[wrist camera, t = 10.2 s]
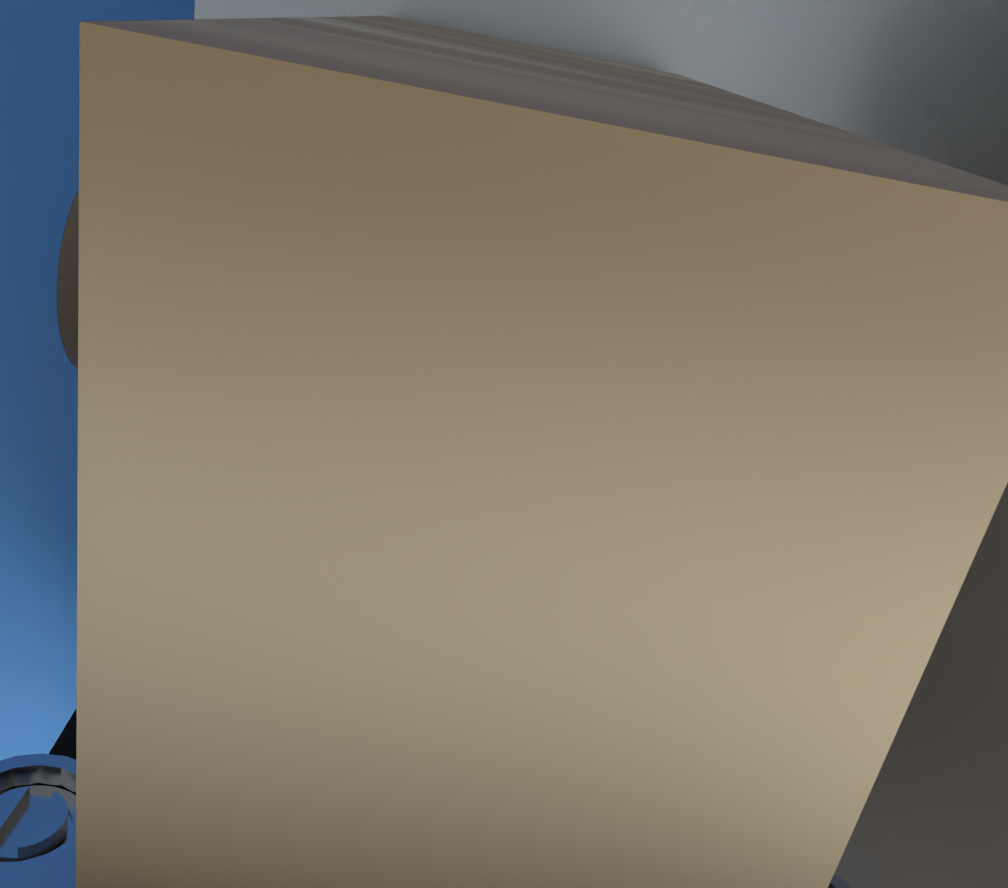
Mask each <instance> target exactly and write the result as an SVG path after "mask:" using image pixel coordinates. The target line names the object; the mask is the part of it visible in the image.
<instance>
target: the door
mask: <svg viewBox="0 0 1008 888" xmlns="http://www.w3.org/2000/svg"><path fill="white" fill-rule="evenodd" d="M57 314H58V324H59V330H60V335H61V339H62V343H63V347H64V349H65V352H66V355H67V356H68V358H69V360H70V362H71V363H72V364H73V365H74V367H76V368H77V369H78V499H77V728H76V888H828V886H829V884H830V882H831V879H832V877H833V875H834V873H835V870H836V868H837V866H838V864H839V861H840V859H841V857H842V855H843V852H844V850H845V848H846V846H847V843H848V841H849V839H850V837H851V834H852V832H853V830H854V828H855V825H856V823H857V821H858V819H859V816H860V814H861V812H862V810H863V807H864V805H865V803H866V801H867V798H868V796H869V794H870V792H871V789H872V787H873V785H874V783H875V780H876V778H877V776H878V773H879V771H880V769H881V767H882V764H883V762H884V760H885V758H886V755H887V753H888V751H889V749H890V746H891V744H892V742H893V740H894V737H895V735H896V733H897V731H898V728H899V726H900V724H901V722H902V719H903V717H904V715H905V713H906V710H907V708H908V706H909V704H910V701H911V699H912V697H913V695H914V692H915V690H916V688H917V686H918V683H919V681H920V679H921V677H922V674H923V672H924V670H925V667H926V665H927V663H928V661H929V658H930V656H931V654H932V652H933V649H934V647H935V645H936V643H937V640H938V638H939V636H940V634H941V631H942V629H943V627H944V625H945V622H946V620H947V618H948V616H949V613H950V611H951V609H952V607H953V604H954V602H955V600H956V598H957V595H958V593H959V591H960V589H961V586H962V584H963V582H964V580H965V577H966V575H967V573H968V571H969V568H970V566H971V564H972V561H973V559H974V557H975V555H976V552H977V550H978V548H979V546H980V543H981V541H982V539H983V537H984V534H985V532H986V530H987V528H988V525H989V523H990V521H991V519H992V516H993V514H994V512H995V510H996V507H997V505H998V503H999V501H1000V498H1001V496H1002V494H1003V492H1004V489H1005V487H1006V485H1007V483H1008V186H1007V185H1004V184H1001V183H998V182H995V181H992V180H990V179H987V178H984V177H981V176H978V175H975V174H972V173H969V172H966V171H963V170H960V169H957V168H954V167H951V166H948V165H945V164H942V163H939V162H936V161H933V160H930V159H927V158H924V157H921V156H919V155H916V154H913V153H910V152H907V151H904V150H901V149H898V148H895V147H892V146H889V145H886V144H883V143H880V142H877V141H874V140H871V139H868V138H865V137H862V136H859V135H856V134H853V133H850V132H847V131H845V130H842V129H839V128H836V127H833V126H830V125H827V124H824V123H821V122H818V121H815V120H812V119H809V118H806V117H803V116H800V115H797V114H794V113H791V112H788V111H785V110H782V109H779V108H776V107H774V106H771V105H768V104H765V103H762V102H759V101H756V100H753V99H750V98H747V97H744V96H741V95H738V94H735V93H732V92H729V91H726V90H723V89H720V88H717V87H714V86H711V85H708V84H705V83H703V82H700V81H697V80H694V79H691V78H688V77H685V76H682V75H678V74H673V73H668V72H663V71H658V70H653V69H648V68H643V67H638V66H633V65H628V64H623V63H618V62H613V61H608V60H603V59H598V58H593V57H588V56H583V55H578V54H573V53H568V52H563V51H558V50H553V49H548V48H543V47H538V46H533V45H528V44H523V43H518V42H513V41H508V40H503V39H498V38H493V37H488V36H483V35H478V34H473V33H468V32H463V31H458V30H453V29H448V28H443V27H438V26H433V25H428V24H423V23H418V22H413V21H408V20H403V19H398V18H393V17H388V16H345V17H291V18H237V19H183V20H129V21H80V41H79V189H78V191H77V193H76V196H75V198H74V201H73V203H72V206H71V208H70V212H69V215H68V218H67V221H66V226H65V230H64V234H63V239H62V244H61V249H60V256H59V264H58V276H57Z"/></svg>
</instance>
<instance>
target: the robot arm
mask: <svg viewBox="0 0 1008 888" xmlns="http://www.w3.org/2000/svg"><path fill="white" fill-rule="evenodd" d="M76 728H77V708H76V710H75V712H74V713H73V715H72V717H71V718H70V720H69V721H68V723H67V725H66V726H65V728H64V730H63V731H62V733H61V735H60V736H59V738H58V740H57V741H56V743H55V745H54V746H53V748H52V749H51V751H50V753H49V754H33V755H23V756H15V757H11V758H8V759H5V760H1V761H0V888H76ZM828 888H851V887H850V886H849V885H848V884H847V883H846V882H844V881H843V880H842V879H841V878H840V877H839V876H837V875H835V874H834V875H833V877H832V879H831V882H830V884H829V886H828Z"/></svg>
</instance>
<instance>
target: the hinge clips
mask: <svg viewBox="0 0 1008 888" xmlns="http://www.w3.org/2000/svg"><path fill="white" fill-rule="evenodd" d="M345 16H388V17H393V18H398V19H403V20H408V21H413V22H418V23H423V24H428V25H433V26H438V27H443V28H448V29H453V30H458V31H463V32H468V33H473V34H478V35H483V36H488V37H493V38H498V39H503V40H508V41H513V42H518V43H523V44H528V45H533V46H538V47H543V48H548V49H553V50H558V51H563V52H568V53H573V54H578V55H583V56H588V57H593V58H598V59H603V60H608V61H613V62H618V63H623V64H628V65H633V66H638V67H643V68H648V69H653V70H658V71H663V72H668V73H673V74H678V75H682V76H685V77H688V78H691V79H694V80H697V81H700V82H703V83H705V84H708V85H711V86H714V87H717V88H720V89H723V90H726V91H729V92H732V93H735V94H738V95H741V96H744V97H747V98H750V99H753V100H756V101H759V102H762V103H765V104H768V105H771V106H774V107H776V108H779V109H782V110H785V111H788V112H791V113H794V114H797V115H800V116H803V117H806V118H809V119H812V120H815V121H818V122H821V123H824V124H827V125H830V126H833V127H836V128H839V129H842V130H845V131H847V132H850V133H853V134H856V135H859V136H862V137H865V138H868V139H871V140H874V141H877V142H880V143H883V144H886V145H889V146H892V147H895V148H898V149H901V150H904V151H907V152H910V153H913V154H916V155H919V156H921V157H924V158H927V159H930V160H933V161H936V162H939V163H942V164H945V165H948V166H951V167H954V168H957V169H960V170H963V171H966V172H969V173H972V174H975V175H978V176H981V177H984V178H987V179H990V180H992V181H995V182H998V183H1001V184H1004V185H1007V186H1008V0H195V12H194V19H237V18H291V17H345Z"/></svg>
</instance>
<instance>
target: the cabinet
mask: <svg viewBox="0 0 1008 888" xmlns="http://www.w3.org/2000/svg"><path fill="white" fill-rule="evenodd" d="M834 874H835V875H837V876H839V877H840V878H841V879H842V880H843V881H844V882H846V883H847V884H848V885H849V886H850V887H851V888H1008V483H1007V485H1006V487H1005V489H1004V492H1003V494H1002V496H1001V498H1000V501H999V503H998V505H997V507H996V510H995V512H994V514H993V516H992V519H991V521H990V523H989V525H988V528H987V530H986V532H985V534H984V537H983V539H982V541H981V543H980V546H979V548H978V550H977V552H976V555H975V557H974V559H973V561H972V564H971V566H970V568H969V571H968V573H967V575H966V577H965V580H964V582H963V584H962V586H961V589H960V591H959V593H958V595H957V598H956V600H955V602H954V604H953V607H952V609H951V611H950V613H949V616H948V618H947V620H946V622H945V625H944V627H943V629H942V631H941V634H940V636H939V638H938V640H937V643H936V645H935V647H934V649H933V652H932V654H931V656H930V658H929V661H928V663H927V665H926V667H925V670H924V672H923V674H922V677H921V679H920V681H919V683H918V686H917V688H916V690H915V692H914V695H913V697H912V699H911V701H910V704H909V706H908V708H907V710H906V713H905V715H904V717H903V719H902V722H901V724H900V726H899V728H898V731H897V733H896V735H895V737H894V740H893V742H892V744H891V746H890V749H889V751H888V753H887V755H886V758H885V760H884V762H883V764H882V767H881V769H880V771H879V773H878V776H877V778H876V780H875V783H874V785H873V787H872V789H871V792H870V794H869V796H868V798H867V801H866V803H865V805H864V807H863V810H862V812H861V814H860V816H859V819H858V821H857V823H856V825H855V828H854V830H853V832H852V834H851V837H850V839H849V841H848V843H847V846H846V848H845V850H844V852H843V855H842V857H841V859H840V861H839V864H838V866H837V868H836V870H835V873H834Z"/></svg>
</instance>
